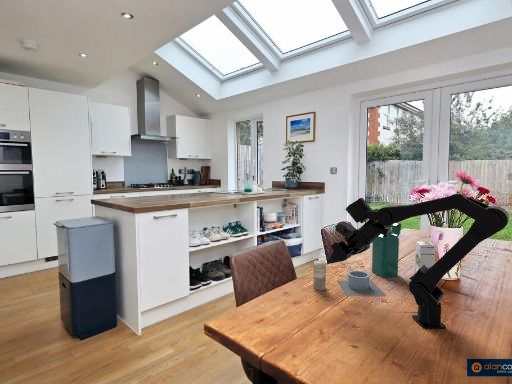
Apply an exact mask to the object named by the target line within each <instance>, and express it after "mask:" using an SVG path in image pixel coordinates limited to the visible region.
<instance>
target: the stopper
mask: <svg viewBox="0 0 512 384" xmlns="http://www.w3.org/2000/svg"><path fill="white" fill-rule="evenodd" d="M326 267H327V262H326V261H325V260H314V261H313V289H314V290H319V291H323V290H326V287H327V285H326V281H327V280H326V279H327V277H326V275H327V268H326Z"/></svg>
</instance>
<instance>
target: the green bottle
mask: <svg viewBox="0 0 512 384" xmlns="http://www.w3.org/2000/svg"><path fill="white" fill-rule="evenodd" d="M385 227H387V228H390V236H388V237H386V238H385V237H384V236H383V235H382V234H381V235H380V236H378V237H377V238H376V239H375V240H373V242H372V243H371V244H372V246H371V247H372V248H371V249H372V250H371V272H372V273H373V274H375V275H377V276H379V277H380V278H381V277H382V278H392V277H397V276H398V275H399V258H400V257H399V256H400V255H399V254H400V238H399V236H400V234H401V230H402V223H400V222H398V223H395V224H393V225H390V226H385Z"/></svg>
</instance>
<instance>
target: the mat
mask: <svg viewBox="0 0 512 384" xmlns="http://www.w3.org/2000/svg"><path fill="white" fill-rule="evenodd" d="M336 282H337V283H338V285H339V286H340V289H341V290H342V291H343V293H344V294H345V296H348V297H387V294H385V292H384V291H383V290H382V289H381V288H380V287H379V286H378V285H377V284H376V283H375V282H374V281H373V280H370V287H369V289H366V290H357V289H353V288H350V287H349V286H348V285H347V280H336Z"/></svg>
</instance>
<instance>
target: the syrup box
mask: <svg viewBox="0 0 512 384" xmlns="http://www.w3.org/2000/svg"><path fill="white" fill-rule="evenodd" d="M435 263H436V245H435V244H434V243H432V242H431V241H416V242H415V267H414V269H415V273H416V272H417V271H418V270H419V269H420V268H421V267H422V266H423V265H425V266H426V267H427V268H429V267H431V266H433V265H434V264H435ZM415 273H414V274H415Z"/></svg>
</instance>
